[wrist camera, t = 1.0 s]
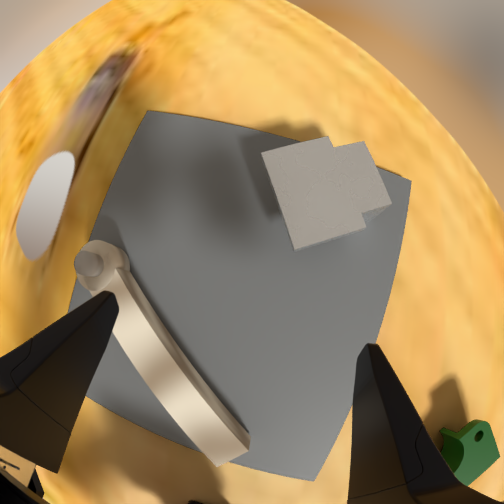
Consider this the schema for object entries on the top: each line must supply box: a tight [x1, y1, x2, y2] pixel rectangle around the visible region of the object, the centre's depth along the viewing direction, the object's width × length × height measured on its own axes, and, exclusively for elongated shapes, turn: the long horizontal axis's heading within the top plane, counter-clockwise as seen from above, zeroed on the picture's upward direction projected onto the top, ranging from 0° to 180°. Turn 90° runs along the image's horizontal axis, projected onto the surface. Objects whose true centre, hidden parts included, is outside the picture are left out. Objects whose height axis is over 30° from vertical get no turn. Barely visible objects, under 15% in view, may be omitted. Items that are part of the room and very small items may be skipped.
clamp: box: [440, 420, 500, 486], centre depth 16 cm, size 12×6×9 cm, turn 112°
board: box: [68, 111, 411, 481], centre depth 23 cm, size 28×26×1 cm
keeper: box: [261, 136, 392, 252], centre depth 21 cm, size 8×7×5 cm
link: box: [74, 240, 251, 467], centre depth 19 cm, size 20×4×4 cm, turn 37°
